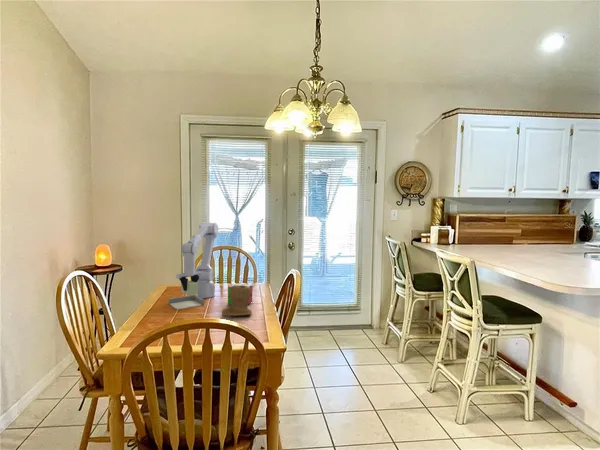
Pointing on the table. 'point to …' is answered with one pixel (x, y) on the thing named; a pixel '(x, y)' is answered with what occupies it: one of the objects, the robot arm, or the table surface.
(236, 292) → the brown boot
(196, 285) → the green block
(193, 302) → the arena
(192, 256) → the robot arm
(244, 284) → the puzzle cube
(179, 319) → the table surface
